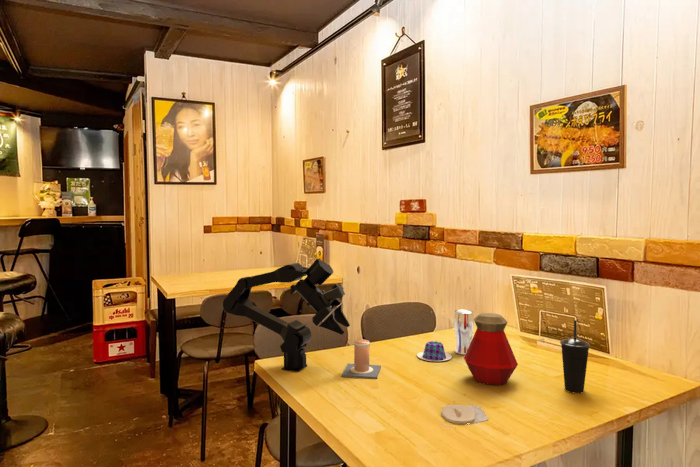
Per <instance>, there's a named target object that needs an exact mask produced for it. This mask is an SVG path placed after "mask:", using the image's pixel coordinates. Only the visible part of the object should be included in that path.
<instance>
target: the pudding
mask: <svg viewBox="0 0 700 467" xmlns="http://www.w3.org/2000/svg"><path fill="white" fill-rule="evenodd" d="M416 356H417V358H419V359H420V360H424V361H429V362H438V361H440V362H444V361H448V360H451V359H452V357H453V356H452V355H451V354H450V353H448V352H446V351H445V347H444V344H443V343H442V342H440V341H433V340H432V341H431V340H430V341H427V342H426V344H425V346H424V349H423V351H420V352H418V353H417V355H416ZM446 357H447V358H446Z"/></svg>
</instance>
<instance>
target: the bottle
mask: <svg viewBox="0 0 700 467" xmlns="http://www.w3.org/2000/svg"><path fill="white" fill-rule="evenodd" d="M474 324H475V326H476V330H475V332H474V334H473V335H472V340H471V343H470V346H469V348H468V350H467V352H466V355H464V357H463V358H464V361H465V364H466V366H467V367H468V369H469V371H470V374H471V376H472V378H473V379H474V381H475V382H477V383H480V384H483V385H486V386H503V384H504V385H506V384H507V382H508V381H509V380H510V378H511V376H512V375H513V373H514V372H515V370H516V368H517V367H518V365H519V363H518V361H517V359H516V357H515V354H514V352H513V350H512V347H511V344H510V343H509V339H508V337H507V334H506V333H505V329H506V327H507V324H508V321H507V320H506V319H505V317H503V315H502V314H499V313H493V312H482V313H479V314H478V315H477V316H475V317H474Z"/></svg>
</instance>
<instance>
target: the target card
mask: <svg viewBox="0 0 700 467" xmlns="http://www.w3.org/2000/svg"><path fill="white" fill-rule="evenodd" d="M381 368H382V365H381V364H369V371H366V372H358V371H355V370H354V363H347V365H346V367H345V368H344V370H343V371H342V373H341V378H356V379H358V378H359V379H374V380H377V379H378V376H379V373H380V372H381Z"/></svg>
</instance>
